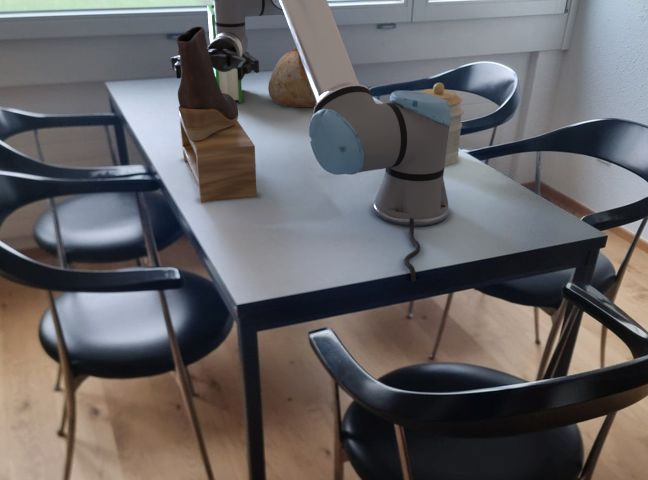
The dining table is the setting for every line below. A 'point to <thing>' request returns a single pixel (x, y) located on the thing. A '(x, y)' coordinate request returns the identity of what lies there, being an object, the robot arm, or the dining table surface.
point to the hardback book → (225, 79)
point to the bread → (291, 82)
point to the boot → (201, 89)
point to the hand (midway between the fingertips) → (208, 72)
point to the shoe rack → (222, 163)
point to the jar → (454, 119)
